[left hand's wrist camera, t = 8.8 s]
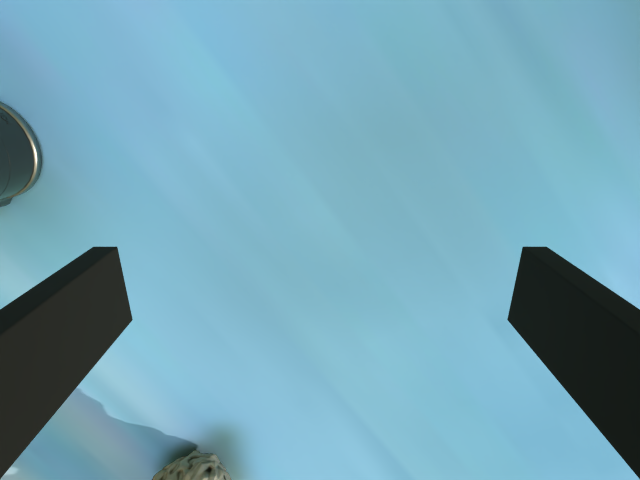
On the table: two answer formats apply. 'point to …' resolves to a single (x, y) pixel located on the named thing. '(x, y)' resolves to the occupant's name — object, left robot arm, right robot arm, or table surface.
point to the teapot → (194, 468)
